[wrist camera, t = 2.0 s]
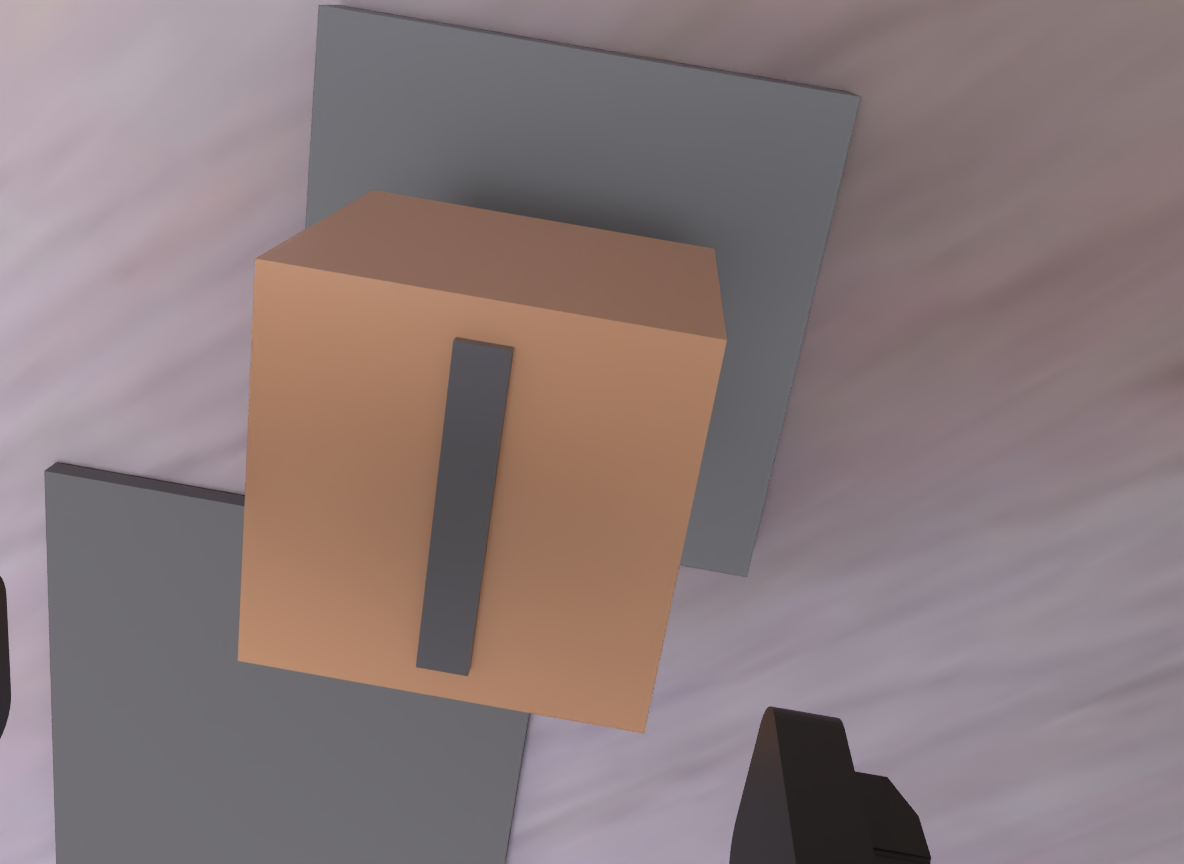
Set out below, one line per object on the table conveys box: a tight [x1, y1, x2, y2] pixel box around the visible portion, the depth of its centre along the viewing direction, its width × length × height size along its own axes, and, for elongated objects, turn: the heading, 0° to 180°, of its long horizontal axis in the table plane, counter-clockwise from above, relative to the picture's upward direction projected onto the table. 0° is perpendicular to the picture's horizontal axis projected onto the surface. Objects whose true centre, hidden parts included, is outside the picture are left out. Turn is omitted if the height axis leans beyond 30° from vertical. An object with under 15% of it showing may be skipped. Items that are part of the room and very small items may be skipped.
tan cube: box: [238, 190, 727, 733], centre depth 19 cm, size 6×6×6 cm
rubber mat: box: [44, 463, 530, 864], centre depth 33 cm, size 14×14×1 cm
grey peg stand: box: [305, 5, 861, 577], centre depth 22 cm, size 12×12×12 cm
